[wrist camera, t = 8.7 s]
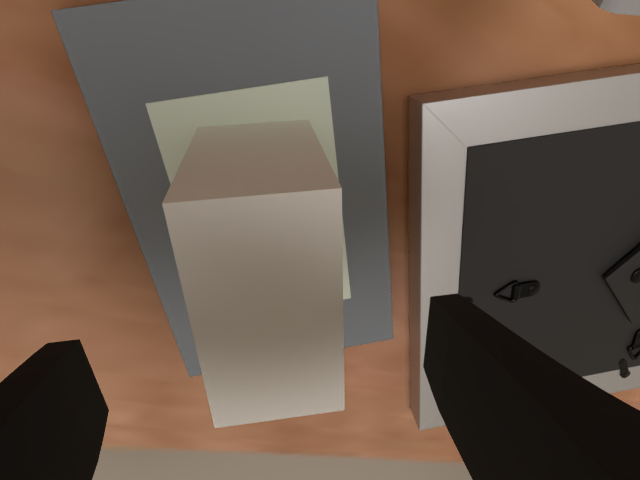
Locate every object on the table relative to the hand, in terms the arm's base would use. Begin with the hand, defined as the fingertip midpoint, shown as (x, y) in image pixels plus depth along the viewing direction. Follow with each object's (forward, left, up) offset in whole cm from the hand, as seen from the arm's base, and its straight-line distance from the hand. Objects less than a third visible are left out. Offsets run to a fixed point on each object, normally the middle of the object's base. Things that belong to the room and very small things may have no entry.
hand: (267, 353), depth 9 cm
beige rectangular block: (0, 0, -7) cm, 7 cm away
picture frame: (+5, +16, -9) cm, 19 cm away
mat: (0, 0, -8) cm, 8 cm away
